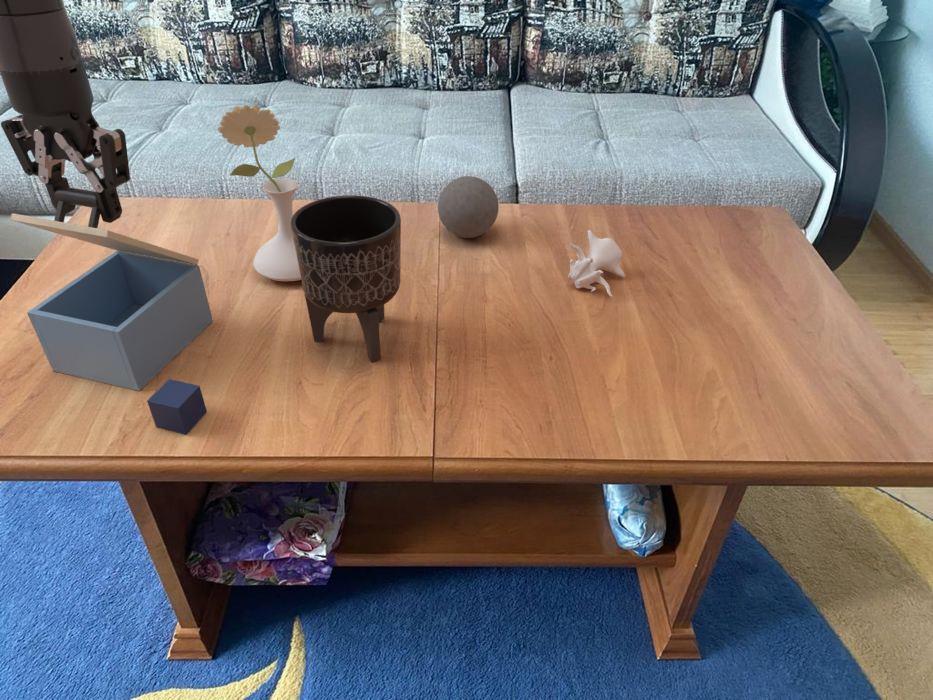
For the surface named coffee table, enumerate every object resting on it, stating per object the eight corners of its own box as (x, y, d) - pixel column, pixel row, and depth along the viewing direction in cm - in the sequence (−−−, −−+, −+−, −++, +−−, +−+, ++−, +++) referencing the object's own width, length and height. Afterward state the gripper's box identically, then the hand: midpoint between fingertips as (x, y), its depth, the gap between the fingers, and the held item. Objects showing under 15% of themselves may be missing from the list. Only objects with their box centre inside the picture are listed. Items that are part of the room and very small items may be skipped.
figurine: (638, 268, 106) (630, 284, 97) (600, 295, 110) (588, 313, 101) (599, 217, 105) (587, 229, 97) (561, 246, 109) (546, 260, 100)
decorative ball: (454, 253, 110) (455, 196, 104) (428, 228, 117) (427, 172, 111) (507, 241, 114) (511, 184, 108) (479, 216, 121) (481, 162, 115)
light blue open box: (139, 391, 82) (118, 332, 77) (52, 370, 85) (26, 312, 80) (213, 320, 94) (199, 265, 89) (135, 305, 97) (116, 250, 92)
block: (186, 434, 77) (178, 408, 74) (156, 427, 77) (146, 400, 75) (207, 411, 80) (199, 385, 77) (177, 404, 81) (169, 378, 78)
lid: (106, 237, 73) (116, 191, 73) (9, 220, 75) (19, 175, 75) (197, 265, 89) (205, 227, 89) (115, 250, 91) (123, 213, 91)
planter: (301, 369, 86) (281, 244, 75) (315, 311, 96) (299, 194, 86) (404, 368, 87) (398, 243, 76) (407, 311, 97) (402, 194, 86)
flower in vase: (336, 252, 110) (319, 93, 95) (322, 290, 101) (301, 121, 86) (256, 249, 110) (226, 90, 95) (234, 287, 101) (197, 118, 86)
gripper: (-51, 60, 67) (12, 219, 77) (72, 75, 64) (121, 239, 73) (11, 44, 72) (62, 194, 82) (126, 57, 69) (165, 211, 79)
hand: (89, 215), depth 78 cm, fingers closed on lid, 5 cm apart
